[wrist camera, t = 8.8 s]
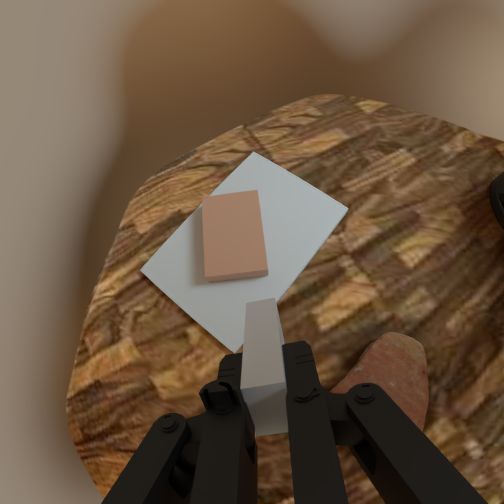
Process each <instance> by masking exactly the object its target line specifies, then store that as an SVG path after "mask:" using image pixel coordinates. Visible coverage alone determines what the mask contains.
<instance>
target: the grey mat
mask: <svg viewBox="0 0 504 504" xmlns="http://www.w3.org/2000/svg"><path fill="white" fill-rule="evenodd" d="M251 190H258V197H259V204H260V211H261V219H262V226H263V234H264V241H265V249H266V257H267V265H268V274H269V275H265V276H257V277H249V278H241V279H232V280H224V281H215V282H208V281H207V279H206V278H205V266H204V245H203V218H202V203H201V204H200V206H199V207H198V208H197V209H196V210H195V211H194V212H193V213H192V214H191V215H190V216H189V217H188V218H187V219H186V220H185V221H184V222H183V223H182V224H181V226H180V227H179V228H178V229H177V230H176V231H175V232H174V233H173V234H172V235H171V236H170V237H169V238H168V240H167V241H166V242H165V243H164V244H163V245H162V246H161V247H160V248H159V249H158V250H157V252H156V253H155V254H154V255H153V256H152V257H151V258H150V259H149V261H148V262H147V263H146V264H145V265H144V266H143V267H142V268H141V270H140V271H141V272H142V273H144V274H145V275H146V276H147V277H148V278H149V279H150V280H151V281H152V282H153V283H154V284H155V285H156V286H157V287H158V288H160V289H161V290H162V291H163V292H164V293H165V294H166V295H167V296H168V297H169V298H170V299H172V300H173V301H174V302H175V303H176V304H177V305H178V306H179V307H180V308H182V309H183V310H184V311H185V312H186V313H187V314H188V315H190V316H191V317H192V318H193V319H194V320H195V321H196V322H198V323H199V324H200V325H201V326H202V327H203V328H205V329H206V330H207V331H208V332H209V333H210V334H212V335H213V336H214V337H215V338H216V339H218V340H219V341H220V342H221V343H222V344H224V345H225V346H226V347H227V348H228V349H230V350H231V351H232V352H233V353H235V354H236V352H237V351H238V350H239V349H240V348H241V347H242V345H243V342H244V328H245V313H246V303H248V302H254V301H259V300H264V299H269V298H274V297H275V300H276V304H277V303H278V301H279V300H280V299H281V298H282V296H283V295H284V294H285V292H286V291H287V290H288V289H289V287H290V286H291V285H292V284H293V282H294V281H295V280H296V279H297V277H298V276H299V275H300V273H301V272H302V271H303V270H304V268H305V267H306V266H307V264H308V263H309V262H310V260H311V259H312V258H313V257H314V255H315V254H316V253H317V251H318V250H319V249H320V247H321V246H322V245H323V243H324V242H325V241H326V239H327V238H328V237H329V235H330V234H331V233H332V231H333V230H334V229H335V227H336V226H337V225H338V223H339V222H340V221H341V219H342V218H343V216H344V215H345V214H346V212H347V211H348V208H347V207H345V206H344V205H342V204H341V203H339V202H337V201H336V200H334V199H333V198H331V197H329V196H328V195H326V194H325V193H323V192H321V191H320V190H318V189H317V188H315V187H313V186H312V185H310V184H308V183H307V182H305V181H304V180H302V179H300V178H298V177H297V176H295V175H293V174H292V173H290V172H288V171H287V170H285V169H283V168H282V167H280V166H278V165H276V164H275V163H273V162H271V161H269V160H268V159H266V158H264V157H262V156H260V155H259V154H257V153H255V152H253V153H252V154H251V155H250V156H249V157H247V158H246V159H245V160H244V161H243V162H242V163H241V164H240V165H239V166H238V167H237V168H236V169H235V170H234V171H233V172H232V173H231V174H230V175H229V176H228V177H227V178H226V179H225V180H224V181H223V182H222V183H221V184H220V185H219V186H218V187H217V188H216V189H215V190H214V191H213V192H212V193H211V194H210V195H209V196H214V195H221V194H228V193H236V192H243V191H251Z"/></svg>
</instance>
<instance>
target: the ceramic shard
mask: <svg viewBox="0 0 504 504" xmlns="http://www.w3.org/2000/svg"><path fill="white" fill-rule="evenodd" d="M360 383H374V384H377V385H378V386H380V387H381V388H382V389H383V390H384V391H385V392H386V393H387V394H388V395H389V396H390V397H391V398H392V400H393V401H394V402H395V403H396V404H397V405H398V406H399V407H400V408H401V409H402V410H403V411H404V413H405V414H406V415H407V416H408V417H409V418H410V419H411V420H412V421H413V422H414V423H415V424H416V426H417V427H418V428H419V429H420V430H421V431H422V432H423V428H424V422H425V418H426V412H427V409H428V398H429V393H428V384H429V381H428V376H427V362H426V355H425V352H424V347H423V346H422V344H421V343H420V342H418V341H416V340H415V339H414V338H411V337H409V336H406V335H402V334H400V333H396V332H386V333H384V334H383V335H381V337H379V338H378V339H377V340H376V341H373V342H372V343H370V344H369V346H368V347H367V348H366V349H365V351H364V352H363V354H362V355H361V357H360V358H359V359H358V360H357V362H356V364H355V365H354V366H353V368H352V369H351V370H350V371H349V372H348V374H347V375H346V377H345V378H344V379H342V380H341V381H340V382H339V383H338V384H337V385H336V386H335V387H334V388H333V389H332V390H331V391H330V392H332V393H347V392H348V391H349V389H350V388H352V387H353V386H355V385H357V384H360Z"/></svg>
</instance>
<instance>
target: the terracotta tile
mask: <svg viewBox="0 0 504 504" xmlns="http://www.w3.org/2000/svg"><path fill="white" fill-rule="evenodd" d="M202 218H203V245H204V266H205V278H206V279H207V281H208V282H215V281H224V280H232V279H241V278H249V277H257V276H265V275H269V274H268V265H267V257H266V249H265V241H264V234H263V226H262V219H261V211H260V204H259V197H258V190H251V191H243V192H236V193H228V194H221V195H214V196H207V197H202Z"/></svg>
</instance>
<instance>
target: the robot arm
mask: <svg viewBox="0 0 504 504" xmlns="http://www.w3.org/2000/svg"><path fill="white" fill-rule="evenodd" d="M490 199H491V204H492V207H493V210H494V213H495V215H496V217H497V219H498V221H499V223H500V224H501V226H502V227H503V228H504V172H502V173H501V174H499V175H498V176H497V178H496V179H495V180H494V181H493V183H492V185H491V188H490ZM199 395H200V397H201V399H202V402H203V404H204V406H205V408H206V411H205V412H204V413H202V414H200V415H198V416H195V417H191V418H188V419H185V417H184V416H182V415H181V414H178V413H169V414H166V415H163V416H161V417H160V418H158V419H157V420H156V421H155V422H154V424H153V425H152V427H151V428H150V430H149V432H148V433H147V435H146V436H145V438H144V439H143V441H142V442H141V444H140V445H139V447H138V448H137V450H136V451H135V453H134V455H133V456H132V458H131V459H130V461H129V462H128V464H127V465H126V467H125V468H124V470H123V471H122V473H121V474H120V476H119V477H118V479H117V481H116V482H115V484H114V485H113V487H112V488H111V490H110V491H109V493H108V494H107V496H106V497H105V499H104V500H103V502H102V503H101V504H257V444H256V441H255V432H256V435H257V436H265V435H272V434H279V433H285V432H289V443H290V454H291V465H292V477H293V489H294V501H295V504H348V499H347V494H346V490H345V485H344V480H343V475H342V471H341V466H340V462H339V457H338V453H337V448H336V445H348V447H349V448H350V450H351V452H352V453H353V455H354V456H355V458H356V459H357V461H358V462H359V464H360V465H361V467H362V468H363V470H364V472H365V473H366V475H367V476H368V478H369V479H370V481H371V482H372V484H373V485H374V487H375V488H376V490H377V491H378V493H379V494H380V496H381V497H382V499H383V500H384V502H385V503H386V504H488V503H487V502H486V501H485V500H484V499H483V498H482V496H481V495H480V494H479V493H478V492H477V491H476V490H475V489H474V488H473V487H472V486H471V484H470V483H469V482H468V481H467V480H466V479H465V478H464V477H463V476H462V475H461V474H460V472H459V471H458V470H457V469H456V468H455V467H454V466H453V465H452V464H451V463H450V462H449V460H448V459H447V458H446V457H445V456H444V455H443V454H442V453H441V452H440V451H439V450H438V448H437V447H436V446H435V445H434V444H433V443H432V442H431V441H430V440H429V439H428V438H427V436H426V435H425V434H424V433H423V432H422V431H421V430H420V429H419V428H418V427H417V426H416V424H415V423H414V422H413V421H412V420H411V419H410V418H409V417H408V416H407V415H406V414H405V413H404V411H403V410H402V409H401V408H400V407H399V406H398V405H397V404H396V403H395V402H394V401H393V400H392V398H391V397H390V396H389V395H388V394H387V393H386V392H385V391H384V390H383V389H382V388H381V387H380V386H378V385H377V384H374V383H360V384H357V385H355V386H353V387H352V388H350V389H349V391H348V392H347V393H332V392H329V391H327V390H325V389H324V388H323V387H322V386H321V384H320V382H319V378H318V374H317V370H316V366H315V362H314V358H313V354H312V350H311V346H310V345H309V344H308V343H306V342H305V341H299V342H294V343H289V344H284V338H283V333H282V329H281V324H280V319H279V314H278V310H277V305H276V300H275V297H274V298H269V299H264V300H259V301H254V302H248V303H246V313H245V328H244V342H243V352H242V353H236V354H230V355H225V357H224V358H223V359H222V361H221V362H220V365H219V372H218V378H217V380H215V381H212V382H210V383H208V384H206V385H205V386H204V387H203V388H202V389H201V390H200V392H199Z"/></svg>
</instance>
